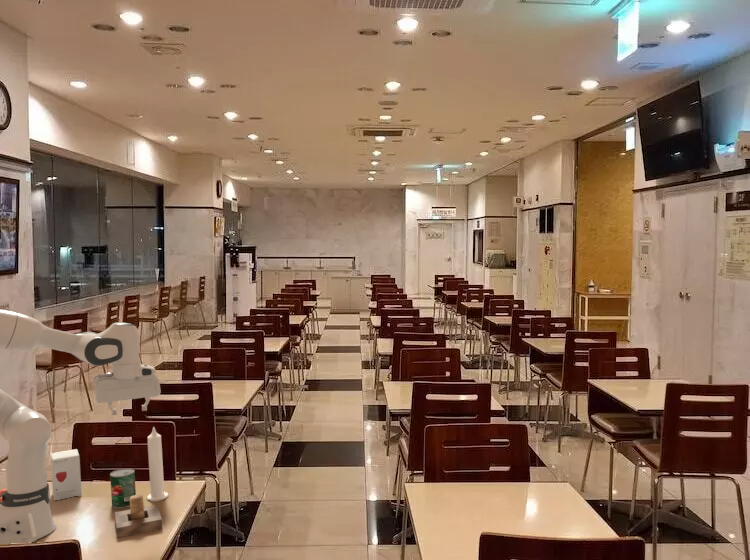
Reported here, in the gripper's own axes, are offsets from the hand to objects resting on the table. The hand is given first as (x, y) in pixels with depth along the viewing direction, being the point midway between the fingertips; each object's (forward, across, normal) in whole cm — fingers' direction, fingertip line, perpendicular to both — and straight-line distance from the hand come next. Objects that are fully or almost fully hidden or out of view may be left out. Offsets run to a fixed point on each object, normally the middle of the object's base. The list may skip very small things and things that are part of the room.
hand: (129, 412), depth 218 cm
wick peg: (+33, 0, -13) cm, 35 cm away
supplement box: (+33, -21, +27) cm, 48 cm away
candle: (+33, +8, +8) cm, 35 cm away
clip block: (+33, 0, -13) cm, 36 cm away
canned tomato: (+33, -3, +8) cm, 34 cm away
